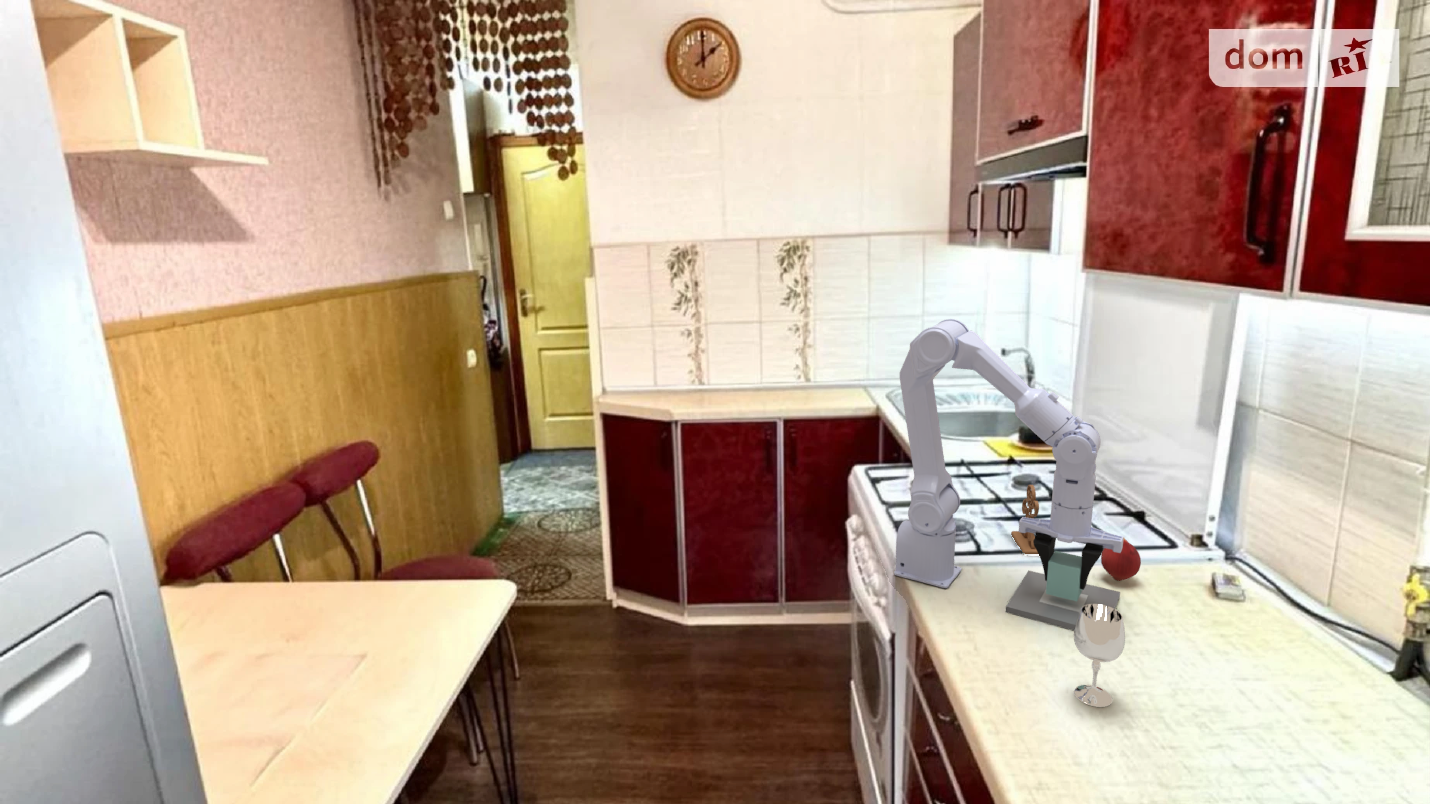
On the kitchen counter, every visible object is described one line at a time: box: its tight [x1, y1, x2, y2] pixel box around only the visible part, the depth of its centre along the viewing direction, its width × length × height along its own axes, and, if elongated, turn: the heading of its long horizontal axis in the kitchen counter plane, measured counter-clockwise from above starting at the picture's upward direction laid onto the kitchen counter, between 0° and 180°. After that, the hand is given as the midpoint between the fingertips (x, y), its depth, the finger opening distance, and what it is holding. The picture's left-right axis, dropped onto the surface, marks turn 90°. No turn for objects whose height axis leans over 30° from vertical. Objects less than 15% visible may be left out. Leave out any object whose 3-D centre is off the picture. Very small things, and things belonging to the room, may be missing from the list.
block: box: [1046, 550, 1083, 601], centre depth 116 cm, size 4×4×6 cm
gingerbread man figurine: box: [1010, 484, 1040, 554], centre depth 137 cm, size 9×4×12 cm, turn 173°
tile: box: [1005, 570, 1121, 631], centre depth 117 cm, size 14×14×1 cm
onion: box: [1100, 537, 1142, 582], centre depth 123 cm, size 6×6×8 cm
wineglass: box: [1073, 604, 1126, 708], centre depth 94 cm, size 6×6×12 cm
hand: (1065, 582), depth 117 cm, fingers closed on block, 4 cm apart
